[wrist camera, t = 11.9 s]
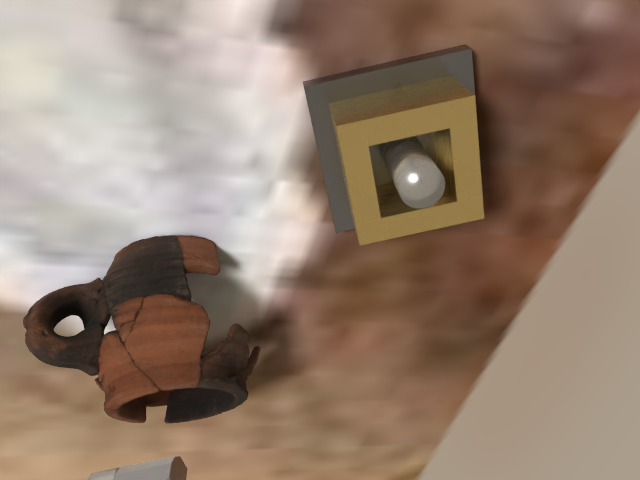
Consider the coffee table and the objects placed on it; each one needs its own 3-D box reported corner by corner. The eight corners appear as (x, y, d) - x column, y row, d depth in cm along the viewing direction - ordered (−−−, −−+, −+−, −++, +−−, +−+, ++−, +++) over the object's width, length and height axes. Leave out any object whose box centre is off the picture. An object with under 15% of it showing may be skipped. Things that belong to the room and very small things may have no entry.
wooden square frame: (328, 103, 28) (336, 126, 25) (452, 75, 28) (475, 95, 25) (350, 213, 31) (359, 245, 28) (462, 188, 31) (484, 218, 28)
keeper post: (302, 81, 28) (310, 119, 23) (465, 44, 28) (510, 73, 23) (334, 224, 32) (347, 283, 27) (477, 192, 32) (518, 246, 27)
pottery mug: (269, 233, 33) (289, 374, 29) (223, 306, 40) (234, 428, 36) (32, 211, 28) (14, 379, 24) (28, 299, 35) (13, 440, 31)
